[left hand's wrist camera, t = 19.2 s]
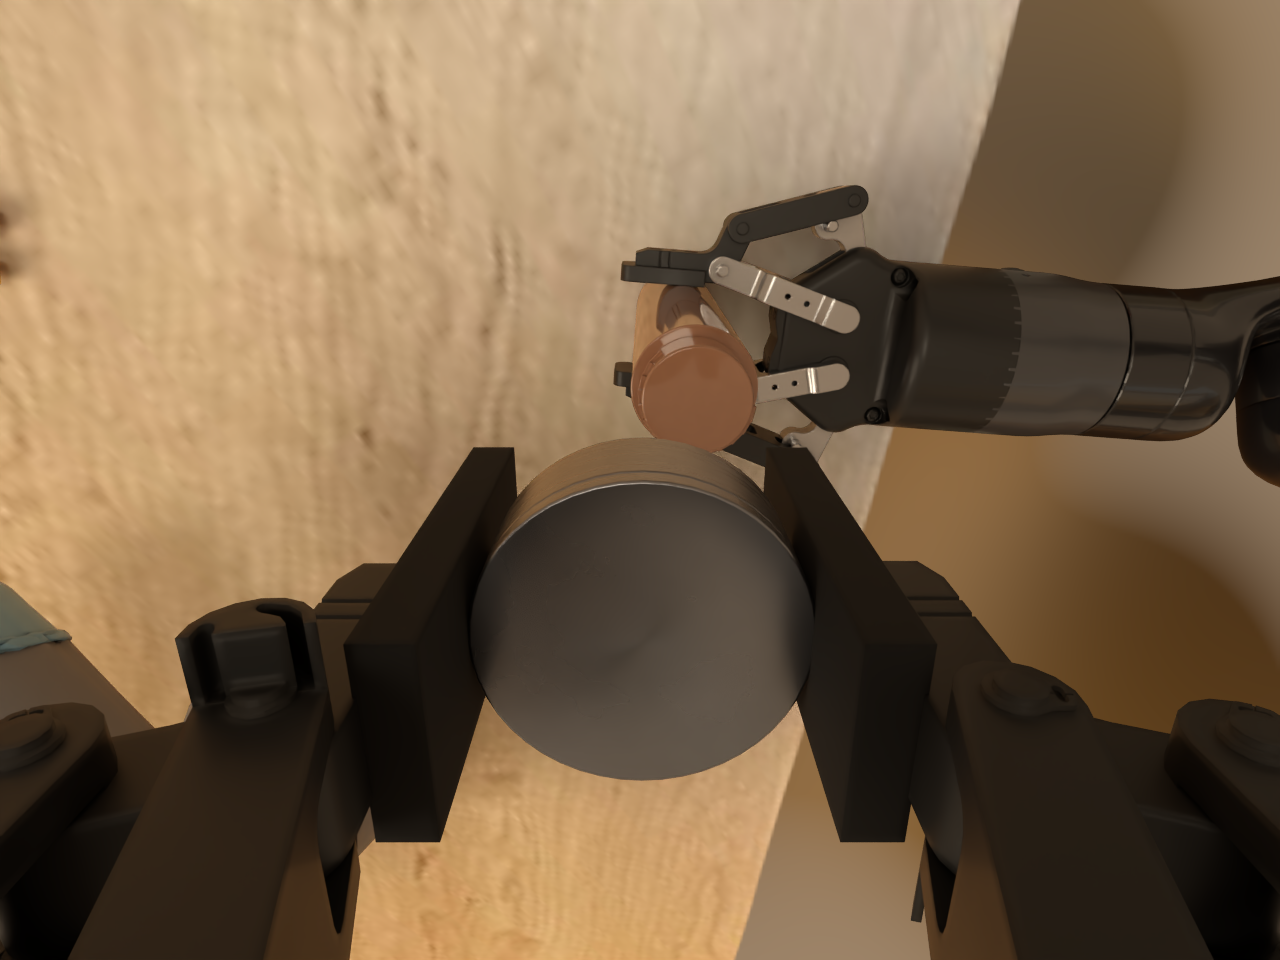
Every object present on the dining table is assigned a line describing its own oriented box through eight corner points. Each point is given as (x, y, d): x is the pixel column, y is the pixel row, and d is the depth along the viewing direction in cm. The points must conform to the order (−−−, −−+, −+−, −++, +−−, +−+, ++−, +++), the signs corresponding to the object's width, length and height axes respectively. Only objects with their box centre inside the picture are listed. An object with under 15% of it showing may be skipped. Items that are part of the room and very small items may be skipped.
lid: (845, 506, 11) (881, 560, 10) (714, 738, 13) (725, 820, 11) (554, 387, 11) (538, 424, 9) (454, 647, 12) (423, 720, 11)
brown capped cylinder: (628, 336, 41) (615, 448, 23) (647, 261, 39) (648, 318, 21) (700, 354, 41) (742, 479, 23) (721, 280, 40) (783, 352, 22)
